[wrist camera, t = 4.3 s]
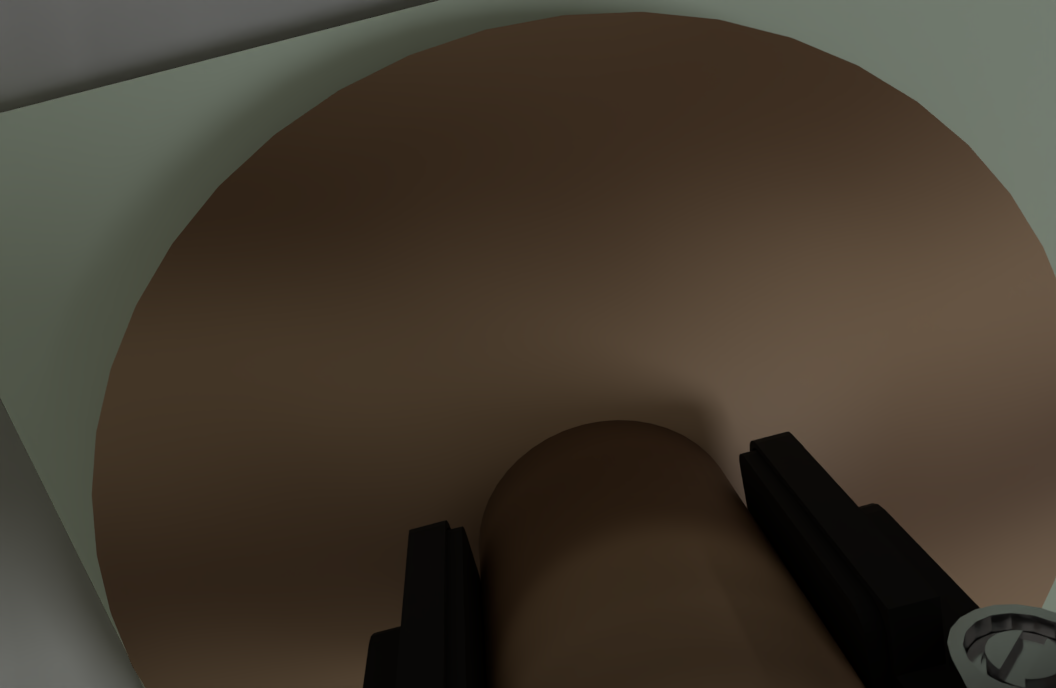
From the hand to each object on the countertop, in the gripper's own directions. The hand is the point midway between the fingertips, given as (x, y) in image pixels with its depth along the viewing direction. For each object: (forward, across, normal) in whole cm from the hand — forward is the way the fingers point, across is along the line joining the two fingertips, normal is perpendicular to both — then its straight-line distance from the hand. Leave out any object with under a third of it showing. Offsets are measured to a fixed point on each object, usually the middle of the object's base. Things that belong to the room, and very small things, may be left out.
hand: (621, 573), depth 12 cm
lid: (+2, 0, 0) cm, 2 cm away
